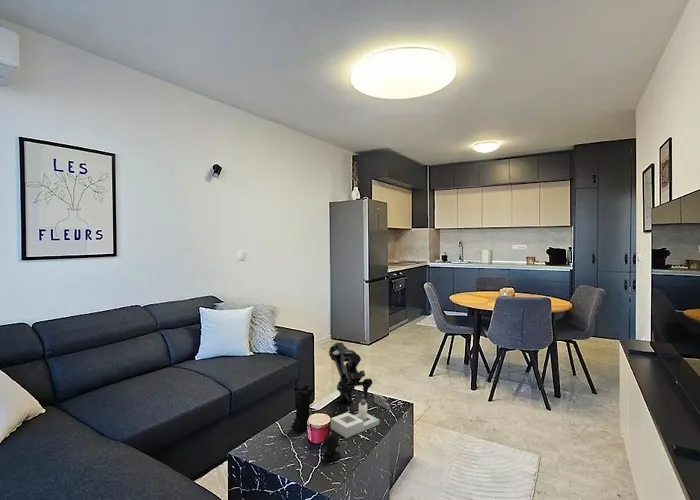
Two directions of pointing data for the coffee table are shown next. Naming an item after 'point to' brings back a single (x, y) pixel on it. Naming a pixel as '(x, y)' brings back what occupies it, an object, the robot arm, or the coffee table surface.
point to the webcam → (331, 447)
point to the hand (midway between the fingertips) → (358, 400)
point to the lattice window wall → (383, 401)
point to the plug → (363, 410)
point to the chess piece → (302, 408)
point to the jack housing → (352, 424)
